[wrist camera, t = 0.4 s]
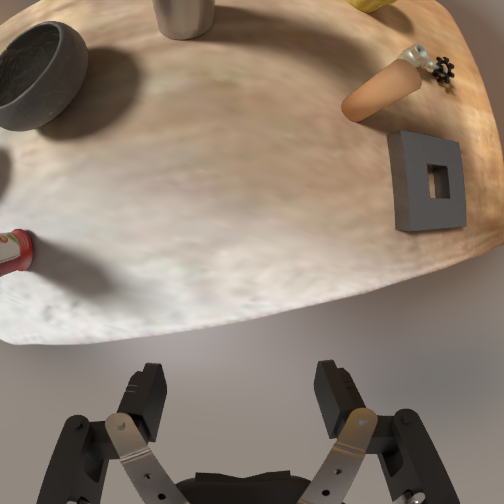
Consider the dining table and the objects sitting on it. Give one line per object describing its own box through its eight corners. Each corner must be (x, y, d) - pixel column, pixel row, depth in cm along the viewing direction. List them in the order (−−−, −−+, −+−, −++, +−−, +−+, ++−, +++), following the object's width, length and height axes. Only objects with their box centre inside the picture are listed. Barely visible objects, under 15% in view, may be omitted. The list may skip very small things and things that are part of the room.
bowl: (20, 78, 28) (-15, 54, 15) (99, 34, 29) (75, -6, 17) (19, 157, 31) (-28, 145, 18) (105, 112, 32) (69, 77, 20)
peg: (339, 96, 37) (389, 54, 22) (362, 99, 37) (416, 63, 23) (343, 120, 37) (398, 85, 23) (366, 123, 38) (425, 93, 23)
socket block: (386, 135, 39) (400, 130, 35) (445, 145, 41) (458, 142, 37) (395, 229, 41) (410, 231, 37) (452, 225, 43) (466, 226, 39)
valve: (399, 74, 38) (439, 88, 39) (419, 62, 31) (458, 79, 33) (391, 48, 37) (431, 63, 38) (408, 34, 30) (449, 53, 32)
